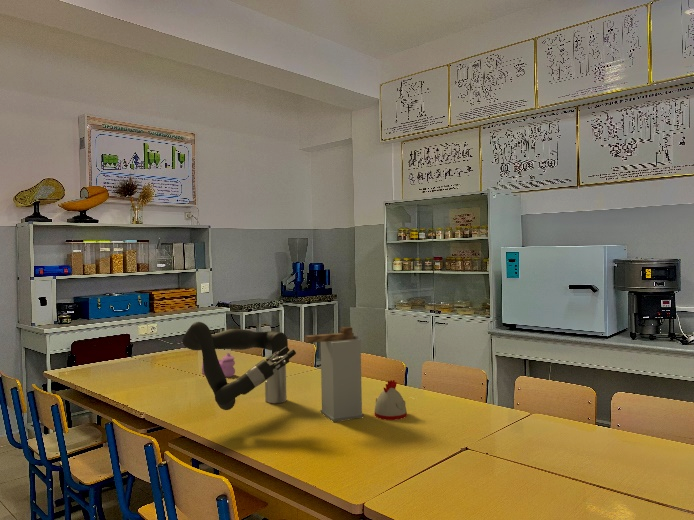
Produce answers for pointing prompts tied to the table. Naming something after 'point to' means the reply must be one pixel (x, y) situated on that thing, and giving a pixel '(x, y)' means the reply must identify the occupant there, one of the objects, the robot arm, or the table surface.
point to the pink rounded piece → (226, 365)
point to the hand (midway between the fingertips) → (291, 349)
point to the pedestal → (341, 379)
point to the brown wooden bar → (331, 336)
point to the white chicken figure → (390, 403)
